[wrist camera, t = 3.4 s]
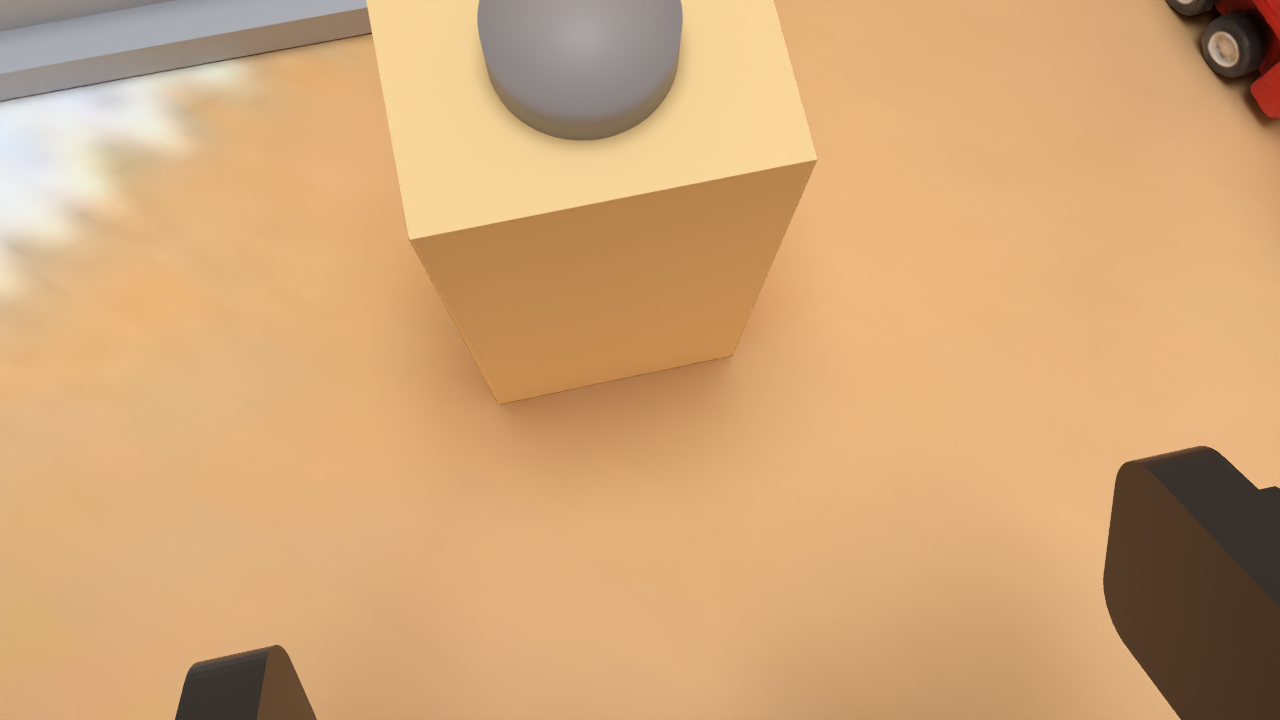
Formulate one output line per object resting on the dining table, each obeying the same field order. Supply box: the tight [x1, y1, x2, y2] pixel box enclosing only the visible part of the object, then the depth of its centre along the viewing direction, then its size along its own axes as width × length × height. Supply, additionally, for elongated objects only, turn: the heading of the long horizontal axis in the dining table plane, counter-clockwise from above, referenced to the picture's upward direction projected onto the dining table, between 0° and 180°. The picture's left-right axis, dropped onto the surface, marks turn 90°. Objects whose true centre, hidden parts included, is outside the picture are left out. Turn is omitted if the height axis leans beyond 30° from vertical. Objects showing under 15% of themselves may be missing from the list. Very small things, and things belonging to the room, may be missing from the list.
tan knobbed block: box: [366, 0, 817, 404], centre depth 18 cm, size 5×4×11 cm
